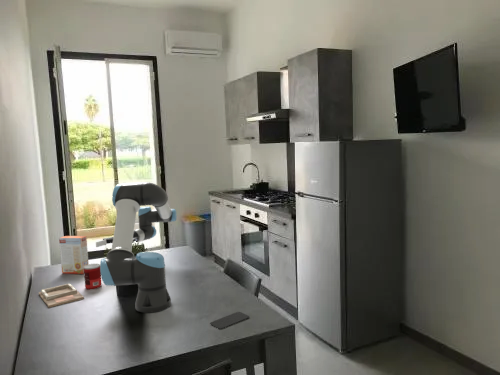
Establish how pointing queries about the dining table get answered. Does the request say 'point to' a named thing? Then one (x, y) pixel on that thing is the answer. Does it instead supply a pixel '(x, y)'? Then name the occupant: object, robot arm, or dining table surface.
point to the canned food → (92, 276)
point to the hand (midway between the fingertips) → (105, 245)
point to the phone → (229, 320)
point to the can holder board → (60, 295)
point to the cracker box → (73, 254)
